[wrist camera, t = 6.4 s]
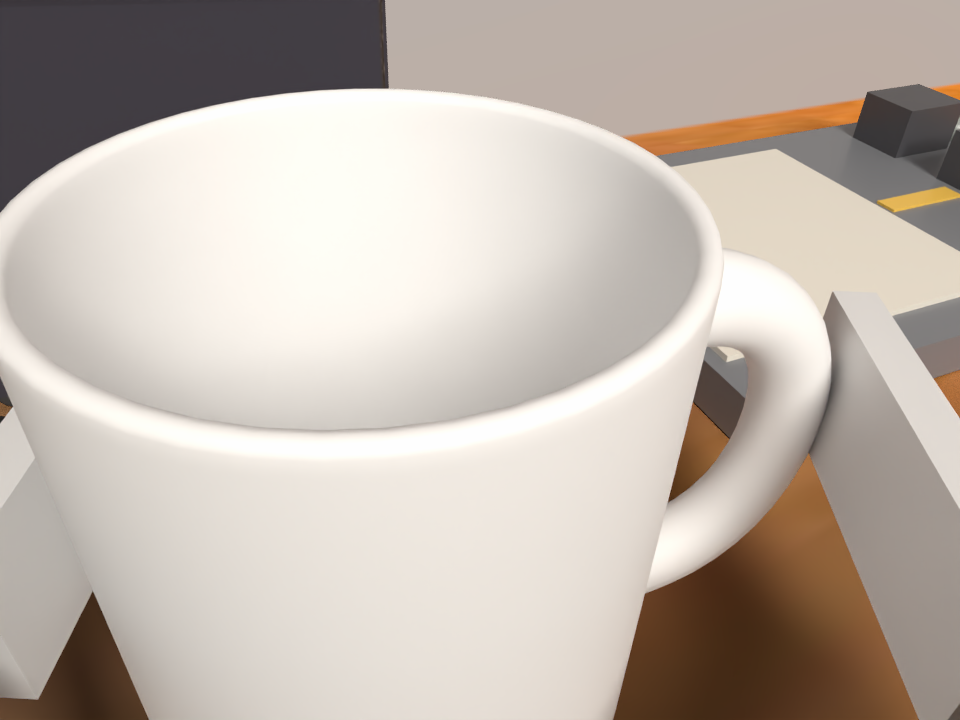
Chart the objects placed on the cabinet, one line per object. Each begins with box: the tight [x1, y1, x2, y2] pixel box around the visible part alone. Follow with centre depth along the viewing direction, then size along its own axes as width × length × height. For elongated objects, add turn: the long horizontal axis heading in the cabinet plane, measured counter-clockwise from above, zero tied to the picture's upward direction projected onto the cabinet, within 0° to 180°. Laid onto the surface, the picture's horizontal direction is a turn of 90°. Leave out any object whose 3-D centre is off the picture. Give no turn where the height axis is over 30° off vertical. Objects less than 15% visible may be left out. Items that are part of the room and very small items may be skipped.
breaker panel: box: [656, 84, 960, 438], centre depth 29 cm, size 22×14×4 cm, turn 114°
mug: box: [0, 89, 831, 720], centre depth 13 cm, size 12×8×10 cm
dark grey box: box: [0, 0, 389, 406], centre depth 19 cm, size 11×4×15 cm, turn 102°
